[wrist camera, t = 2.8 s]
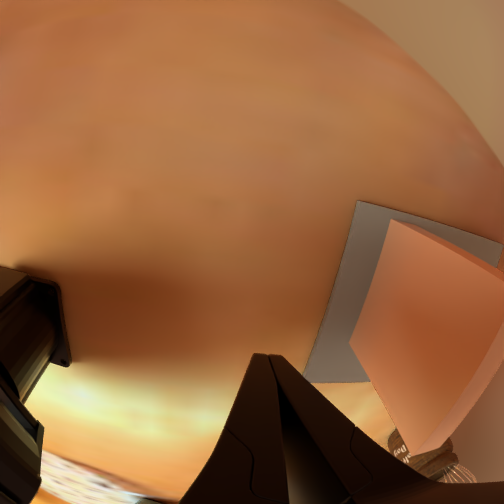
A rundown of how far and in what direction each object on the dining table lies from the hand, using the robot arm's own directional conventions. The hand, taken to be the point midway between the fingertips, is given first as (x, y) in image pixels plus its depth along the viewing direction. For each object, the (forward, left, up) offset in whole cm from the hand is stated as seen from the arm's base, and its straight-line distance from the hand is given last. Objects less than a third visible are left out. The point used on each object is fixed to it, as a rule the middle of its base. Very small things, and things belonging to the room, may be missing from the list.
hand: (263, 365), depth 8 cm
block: (0, -8, -7) cm, 11 cm away
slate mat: (-1, -12, -8) cm, 14 cm away
